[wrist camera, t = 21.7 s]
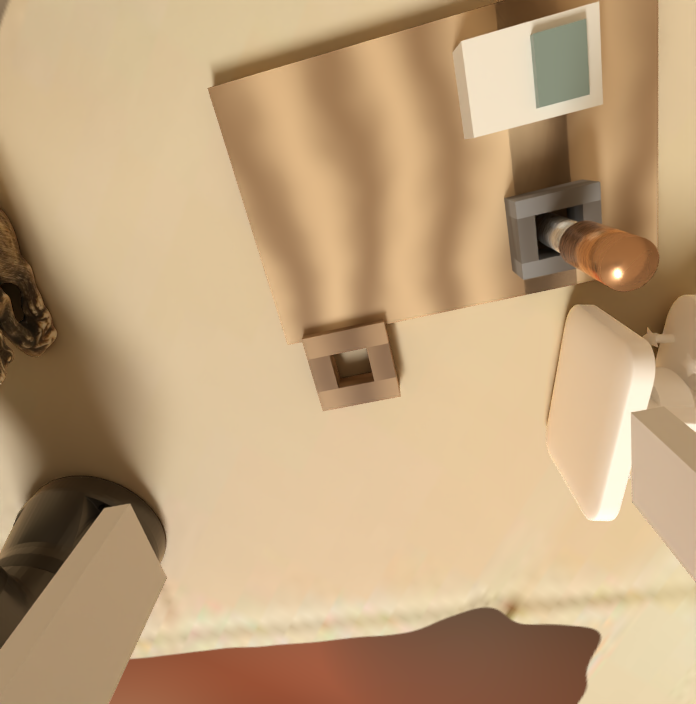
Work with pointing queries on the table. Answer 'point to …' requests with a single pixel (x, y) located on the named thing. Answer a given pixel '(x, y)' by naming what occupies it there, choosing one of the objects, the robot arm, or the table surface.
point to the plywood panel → (433, 171)
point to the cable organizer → (615, 397)
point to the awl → (600, 250)
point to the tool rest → (356, 387)
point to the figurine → (36, 327)
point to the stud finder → (530, 71)
